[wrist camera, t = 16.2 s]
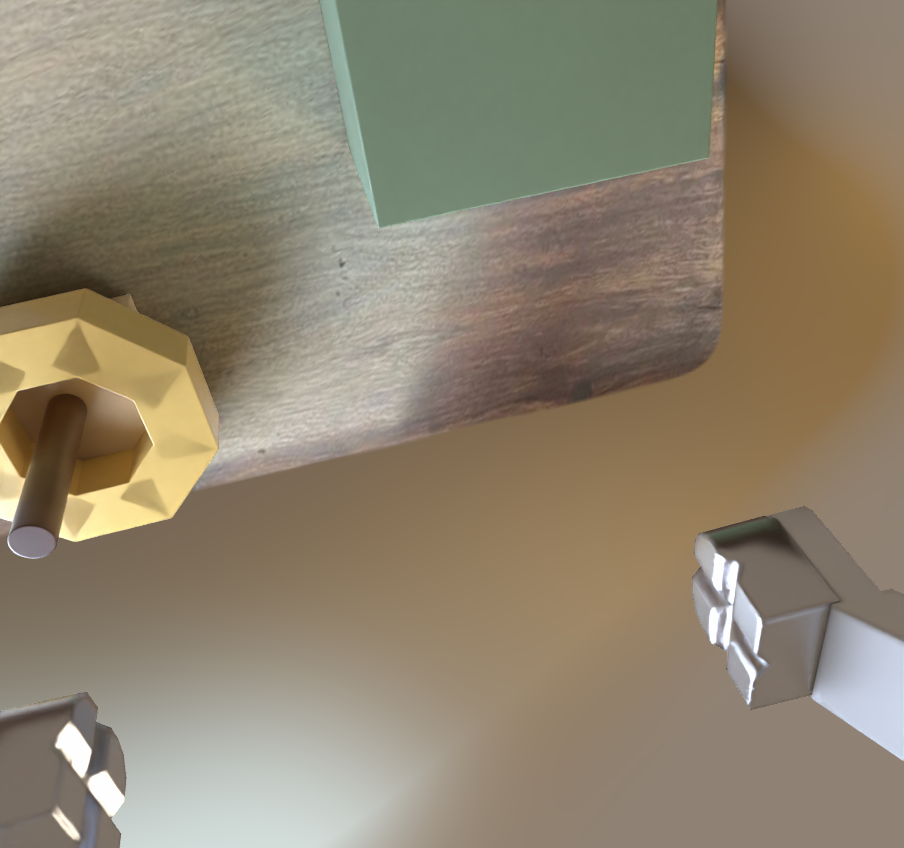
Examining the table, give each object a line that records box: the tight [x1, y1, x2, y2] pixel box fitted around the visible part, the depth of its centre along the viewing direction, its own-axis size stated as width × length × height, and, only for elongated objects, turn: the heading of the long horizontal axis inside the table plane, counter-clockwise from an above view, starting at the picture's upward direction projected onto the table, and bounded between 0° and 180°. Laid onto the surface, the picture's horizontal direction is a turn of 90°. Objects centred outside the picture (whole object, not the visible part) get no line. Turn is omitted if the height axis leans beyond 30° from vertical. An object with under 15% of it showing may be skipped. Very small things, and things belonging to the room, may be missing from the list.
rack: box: [8, 294, 146, 558], centre depth 38 cm, size 9×9×11 cm
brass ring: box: [0, 288, 219, 541], centre depth 40 cm, size 12×12×3 cm
